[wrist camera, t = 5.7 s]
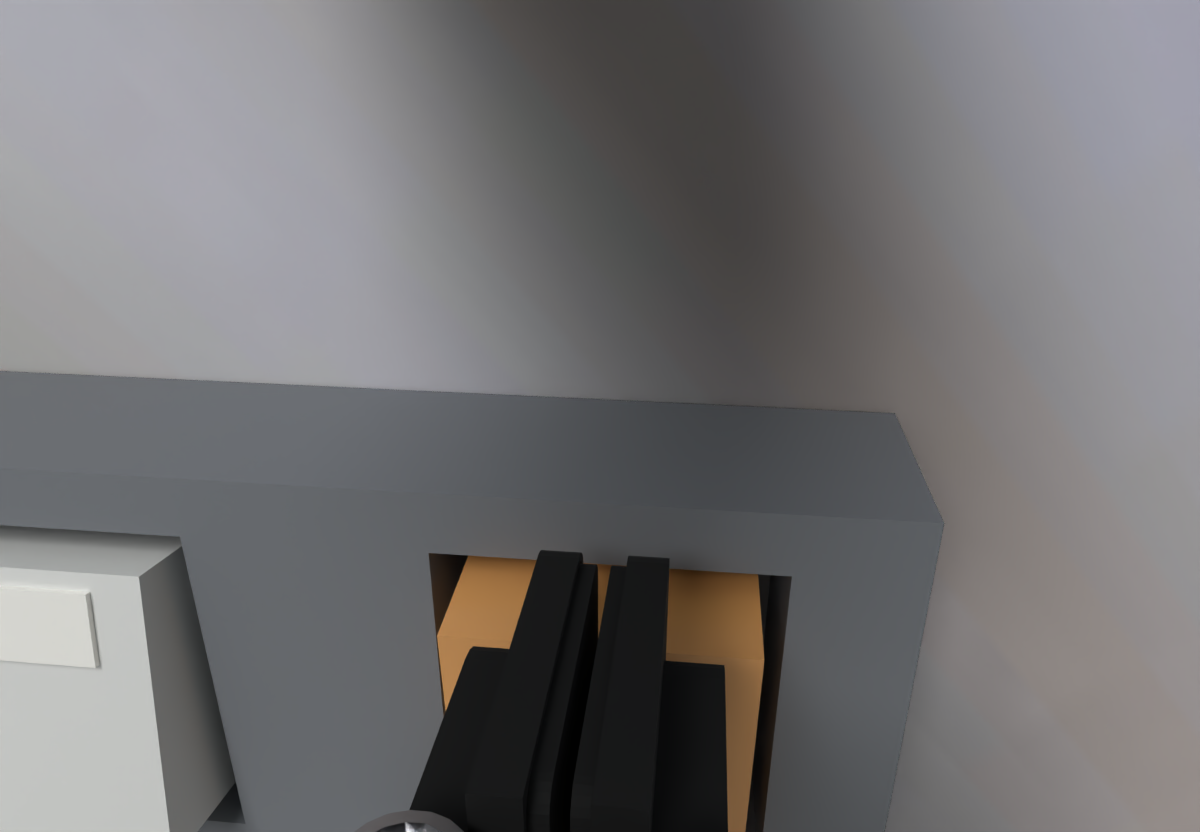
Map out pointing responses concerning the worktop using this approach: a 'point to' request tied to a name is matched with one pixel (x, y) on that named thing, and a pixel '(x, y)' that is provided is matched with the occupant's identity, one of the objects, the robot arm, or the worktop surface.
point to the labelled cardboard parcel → (694, 634)
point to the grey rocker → (104, 687)
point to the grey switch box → (490, 529)
